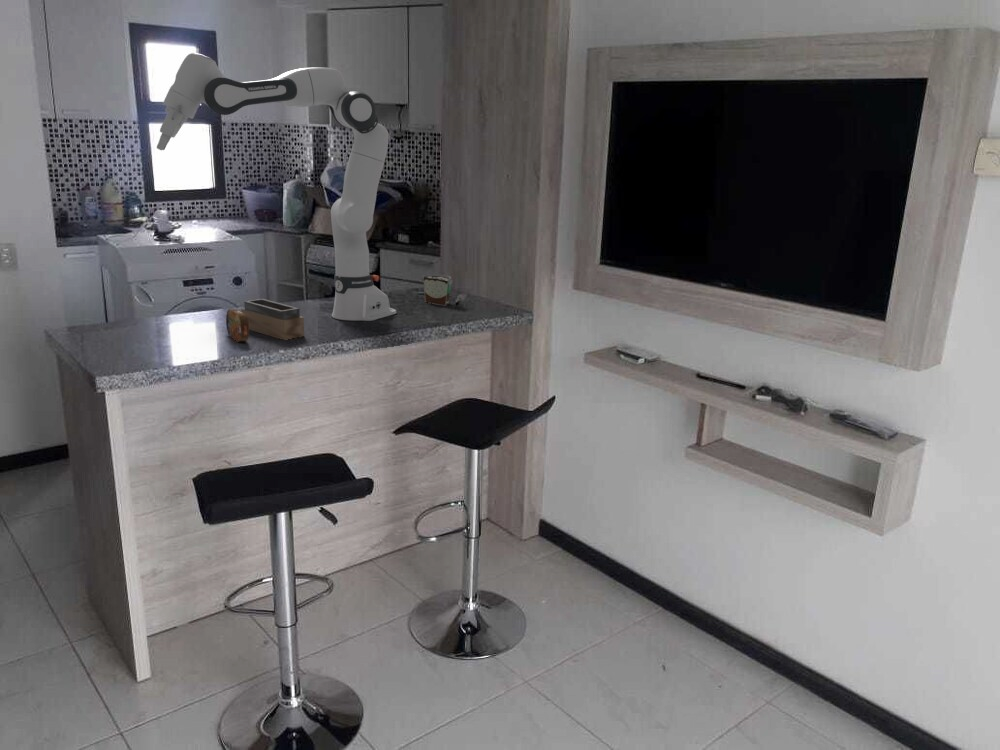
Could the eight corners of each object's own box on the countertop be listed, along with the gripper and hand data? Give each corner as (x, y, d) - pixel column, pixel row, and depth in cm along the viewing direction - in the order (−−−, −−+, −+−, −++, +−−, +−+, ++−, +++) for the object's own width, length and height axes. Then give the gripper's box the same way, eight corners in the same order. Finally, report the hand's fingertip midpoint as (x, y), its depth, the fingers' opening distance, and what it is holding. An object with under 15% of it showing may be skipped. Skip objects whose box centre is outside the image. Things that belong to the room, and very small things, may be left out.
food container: (458, 303, 297) (459, 277, 294) (449, 306, 292) (449, 279, 289) (431, 299, 303) (432, 273, 300) (421, 301, 298) (422, 275, 295)
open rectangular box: (261, 323, 258) (260, 297, 255) (304, 336, 244) (303, 309, 242) (242, 327, 252) (240, 300, 250) (284, 340, 239) (283, 312, 237)
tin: (226, 333, 245) (224, 306, 242) (236, 332, 246) (234, 305, 244) (240, 345, 233) (238, 316, 230) (251, 344, 234) (249, 315, 232)
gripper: (190, 110, 226) (169, 155, 227) (191, 112, 245) (172, 154, 246) (168, 98, 224) (146, 143, 225) (170, 101, 242) (151, 143, 243)
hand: (160, 149), depth 236 cm, fingers open, 8 cm apart
